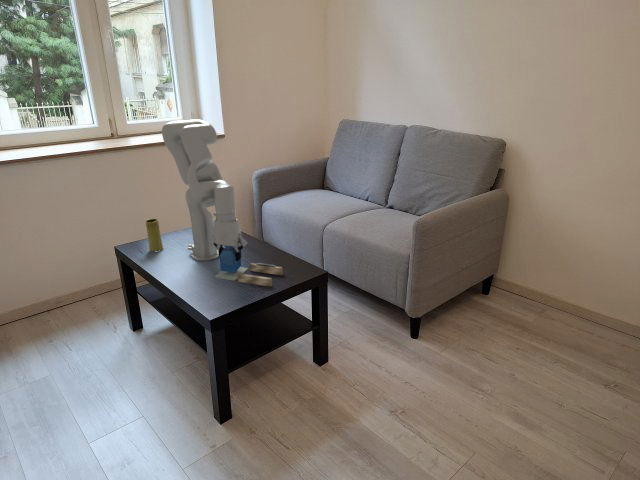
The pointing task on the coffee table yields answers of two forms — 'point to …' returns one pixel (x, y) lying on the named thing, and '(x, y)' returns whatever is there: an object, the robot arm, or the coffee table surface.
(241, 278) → the cradle
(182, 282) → the coffee table surface
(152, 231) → the vase
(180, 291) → the coffee table surface
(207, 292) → the coffee table surface
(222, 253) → the perfume bottle
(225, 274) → the mat
